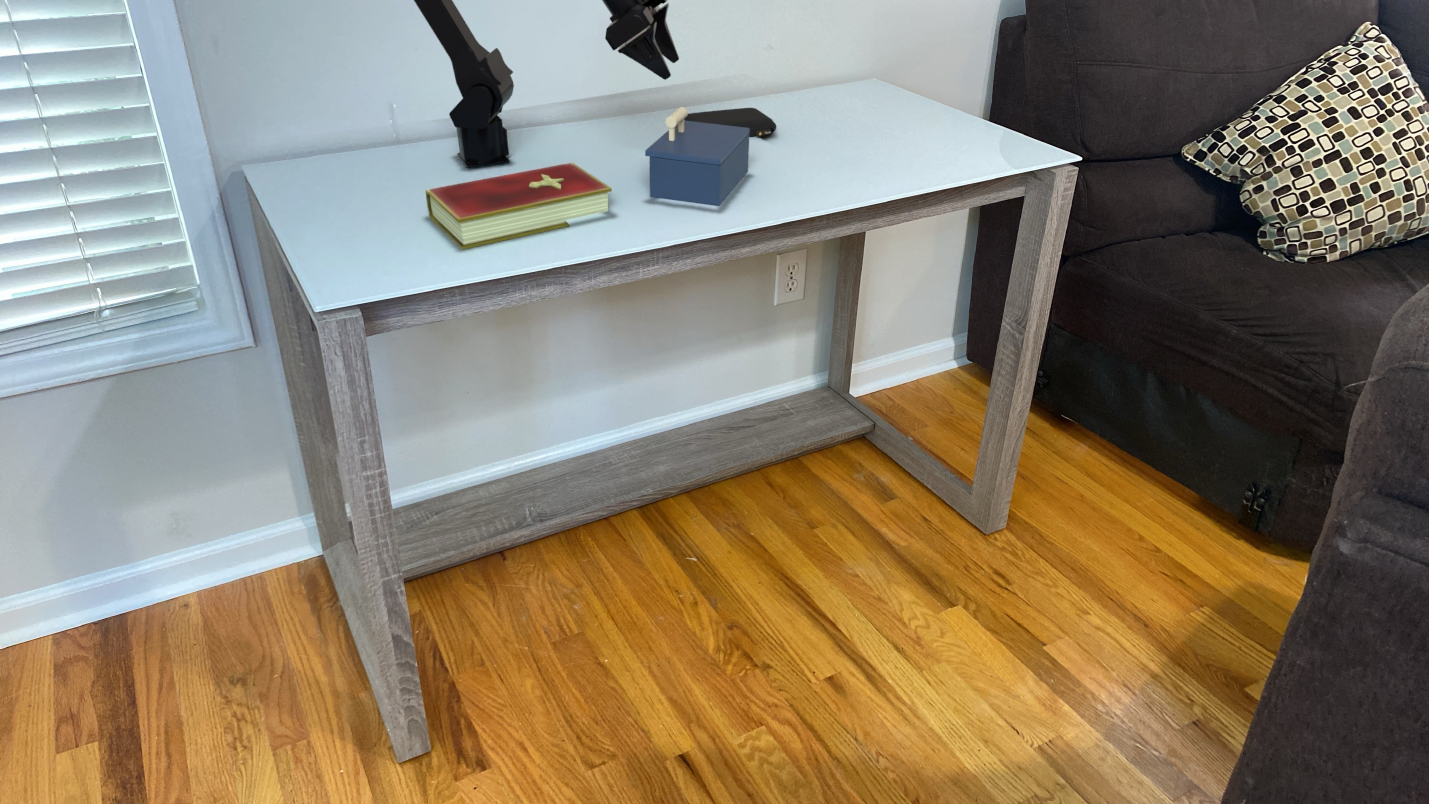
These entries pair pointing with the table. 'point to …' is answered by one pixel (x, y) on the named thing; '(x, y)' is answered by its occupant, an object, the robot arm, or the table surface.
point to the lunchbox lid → (696, 140)
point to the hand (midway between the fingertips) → (672, 69)
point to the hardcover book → (515, 204)
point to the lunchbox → (698, 177)
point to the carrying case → (738, 120)
